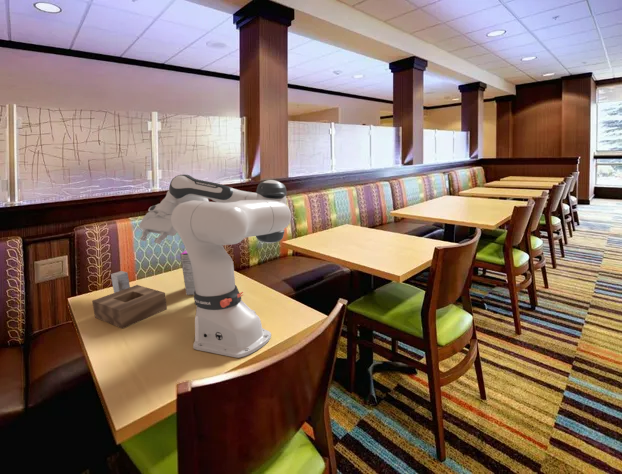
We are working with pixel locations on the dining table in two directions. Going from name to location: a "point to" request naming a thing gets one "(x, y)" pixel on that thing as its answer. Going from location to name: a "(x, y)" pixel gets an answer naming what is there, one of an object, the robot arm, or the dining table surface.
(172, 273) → the dining table surface
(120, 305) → the post socket
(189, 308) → the dining table surface
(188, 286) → the candy bar box
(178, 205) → the robot arm
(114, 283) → the peg
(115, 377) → the dining table surface
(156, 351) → the dining table surface
